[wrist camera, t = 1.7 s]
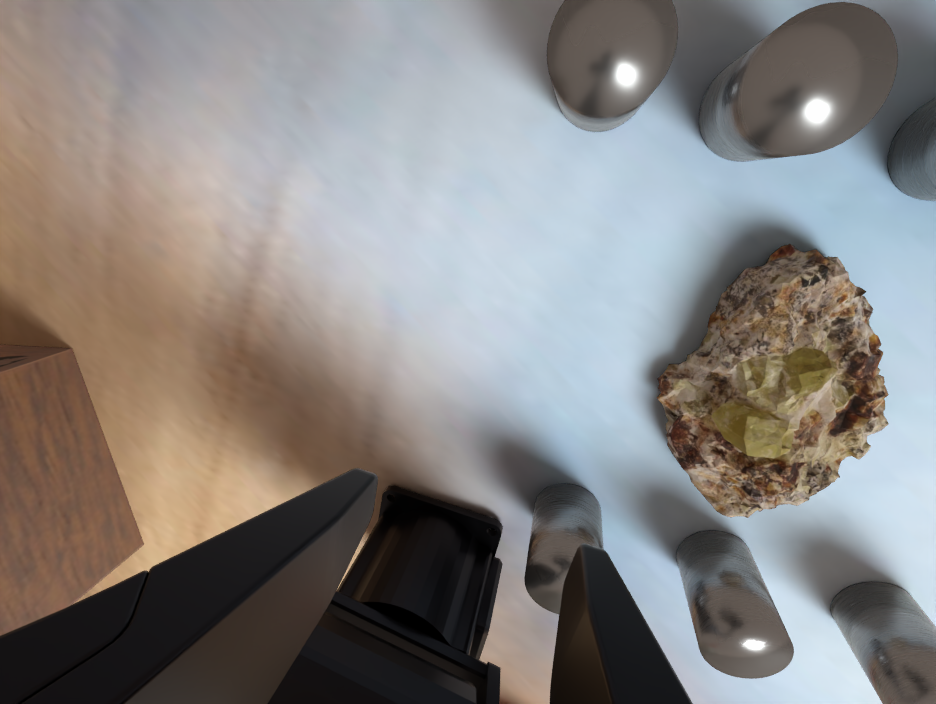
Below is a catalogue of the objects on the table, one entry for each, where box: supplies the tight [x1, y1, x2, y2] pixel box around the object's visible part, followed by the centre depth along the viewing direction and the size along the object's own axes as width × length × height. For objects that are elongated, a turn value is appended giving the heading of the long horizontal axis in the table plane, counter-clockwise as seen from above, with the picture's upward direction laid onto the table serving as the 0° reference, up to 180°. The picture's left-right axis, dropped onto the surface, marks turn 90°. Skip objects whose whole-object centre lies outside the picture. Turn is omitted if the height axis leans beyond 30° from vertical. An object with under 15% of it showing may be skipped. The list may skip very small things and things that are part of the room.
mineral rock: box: [657, 244, 888, 518], centre depth 17 cm, size 11×4×8 cm
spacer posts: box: [525, 0, 936, 704], centre depth 16 cm, size 21×21×4 cm
